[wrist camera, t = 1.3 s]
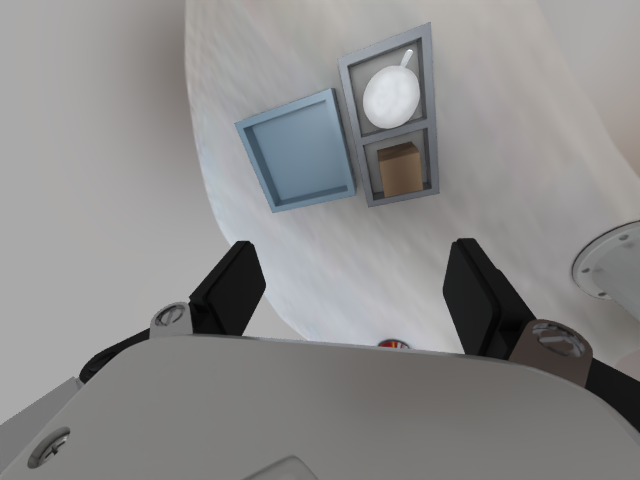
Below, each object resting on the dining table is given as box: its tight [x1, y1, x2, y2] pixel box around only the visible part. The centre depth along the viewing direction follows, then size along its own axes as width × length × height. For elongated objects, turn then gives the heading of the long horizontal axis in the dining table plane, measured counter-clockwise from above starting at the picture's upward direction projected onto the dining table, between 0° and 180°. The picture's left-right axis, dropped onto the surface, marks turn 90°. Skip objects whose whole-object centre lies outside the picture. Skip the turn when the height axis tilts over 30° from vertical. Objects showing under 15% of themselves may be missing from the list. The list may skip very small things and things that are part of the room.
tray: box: [234, 88, 357, 213], centre depth 30 cm, size 12×12×3 cm
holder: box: [337, 22, 439, 207], centre depth 27 cm, size 9×16×2 cm, turn 17°
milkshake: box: [363, 49, 420, 129], centre depth 22 cm, size 5×5×10 cm
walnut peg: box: [377, 142, 423, 197], centre depth 27 cm, size 4×4×6 cm
